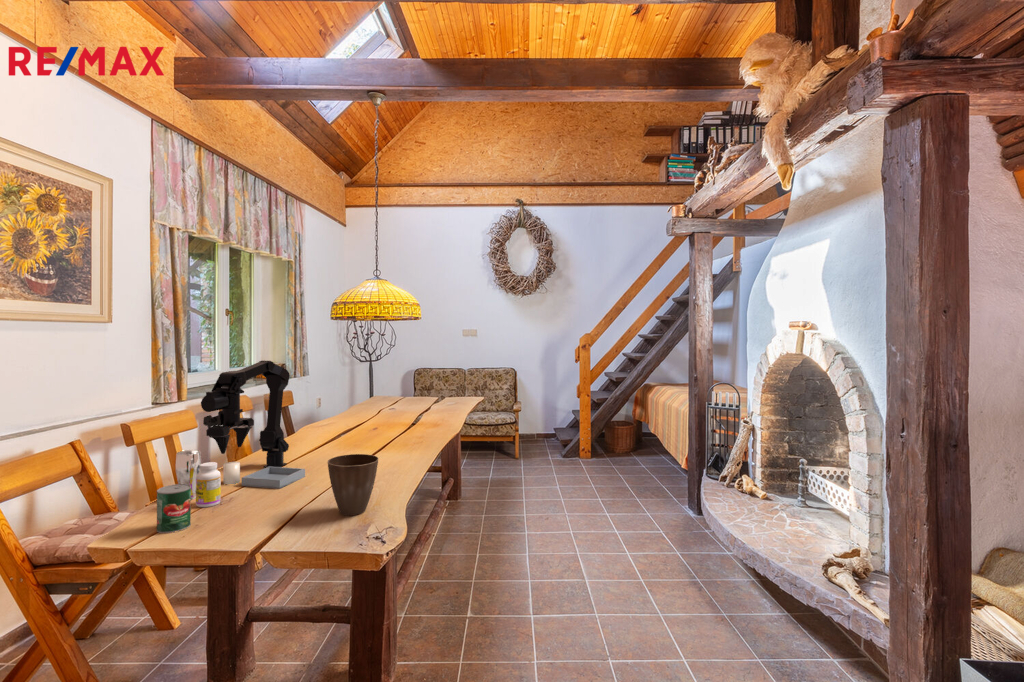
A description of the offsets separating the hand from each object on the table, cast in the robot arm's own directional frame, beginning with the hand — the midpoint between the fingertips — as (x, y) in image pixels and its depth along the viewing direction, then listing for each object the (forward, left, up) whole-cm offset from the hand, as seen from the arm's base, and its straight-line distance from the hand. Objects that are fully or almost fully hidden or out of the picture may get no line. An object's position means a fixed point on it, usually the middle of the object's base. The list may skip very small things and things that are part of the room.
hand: (231, 450), depth 178 cm
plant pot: (+17, +56, -12) cm, 59 cm away
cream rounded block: (0, 0, -12) cm, 12 cm away
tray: (-5, +13, -12) cm, 19 cm away
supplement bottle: (+21, +9, -12) cm, 25 cm away
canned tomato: (+39, +14, -12) cm, 43 cm away
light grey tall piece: (+17, -2, -12) cm, 21 cm away
